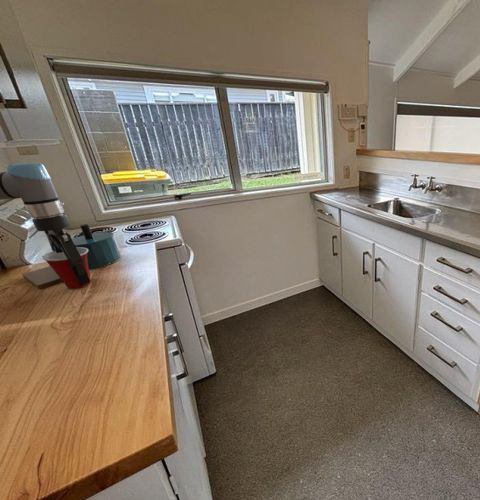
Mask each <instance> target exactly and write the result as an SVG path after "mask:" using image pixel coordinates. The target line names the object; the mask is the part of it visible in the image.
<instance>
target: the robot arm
mask: <svg viewBox="0 0 480 500" xmlns="http://www.w3.org/2000/svg"><path fill="white" fill-rule="evenodd" d="M13 199H14V200H15V199H21V200H22V202H23V205H24V207H25V209H26V212H27V213H28V216H29V217H30V218H31V219H32V224H33V225H34V227H35V229H36V231H37V232H44V234H45V236H46V238H47V240H48V243H49V246H50V248H51V252H53V251H56V253H62V252H63V253H64V254H65V256H66V258H68V261H69V262H70V264H71V265H70V266H69V268H72V270H73V273H74V275H75V277H76V279H77V281H78V283H79V285H83V284H86V283H88V282H90V283H91V279H90V280H89V277H88V275H87V273H86V270H85V268H84V266H83V264H84V261H83V259H82V257H81V255H80V254H79V252H78V250H77V248H76V246H75V245H74V243H73V241H72V239H73V238H72V236H71V235H72V234H70V233H68V232H65V230H64V228H68V227H70V226H71V223H70V220H69V218H68V215H67V214H65V209H64V207H63V206H64V203H65V202H62V201H61V200H60V198H59V196H58V193H57V191H56V189H55V186H54V183H53V181H52V177H51V176H50V174H49V172H48V171H47V168H46V167H45V166H44V164H42V163H40V162H25V163H12V164H7V165H6V171H2V172H0V201H2V200H13ZM75 261H77V262H75Z"/></svg>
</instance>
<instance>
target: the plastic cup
mask: <svg viewBox="0 0 480 500" xmlns="http://www.w3.org/2000/svg"><path fill="white" fill-rule="evenodd" d="M76 248H77V250H78V252H79V254H80V255H81V257H82V259H83V261H84V264H83V266H84V268H85V270H86V273H87V275H88V277H89V280H90V282H88V283H86V284H83V285H79V283H78V281H77V279H76V277H75V275H74V273H73V270H72V268H69V266H70V265H71V264H70V262H69V261H68V258H66V256H65V254H64V253H63V252H62V253H56V251H50V252H47V253H45V254H44V255H42V256H41V258H42V260H43V261H45V262H46V263H47V264H48V266H51V267H52V268H53V270H54V271H55V272H56V274H57V275H58V276H59V278H60V279H61V280H62V281H63V282H62V283H63V284H64V285H65V286H66V287H67V288H68V289H70V290H76V289H80V288H83V287H86V286H88V285H89V284H90V283H91V276H90V269H89V267H88V261H87V253H88V248H83V247H76ZM75 262H77V261H75Z"/></svg>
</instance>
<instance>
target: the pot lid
mask: <svg viewBox="0 0 480 500" xmlns="http://www.w3.org/2000/svg"><path fill="white" fill-rule="evenodd" d="M79 227H80V229H81V231H82V234H83V235H80V236H76V237H73V238H71V239H72V241H73V243H74V245H75V246H76V247H78V246H85V245H91V244H95V243H99V242H102V241H105V240H108V239H110V238H112V237H113V238H114V237H115V235H114V233H113V232H107V231H106V232H94V233H93V232H92V230H91V227H90V225H89V223H83V224H80V225H79Z"/></svg>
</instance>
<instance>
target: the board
mask: <svg viewBox="0 0 480 500" xmlns="http://www.w3.org/2000/svg"><path fill="white" fill-rule="evenodd" d="M21 275H22V277H23V278H24V279H25V280H26V281H27V282H29V283H30V284H32V285H33V286H35V288H37V289H38V290H42V289H46V288H49V287H52V286H54V285H58V284H60V283H64V282H63V281H62V280H61V279H60V278H59V276H58V275H57V274H56V272H55V271H54V270H53V268H52V267H51V266H50V265H48V266H46V267H42V268H39V269H34V270H32V271H28V272H25V273H21Z"/></svg>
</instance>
